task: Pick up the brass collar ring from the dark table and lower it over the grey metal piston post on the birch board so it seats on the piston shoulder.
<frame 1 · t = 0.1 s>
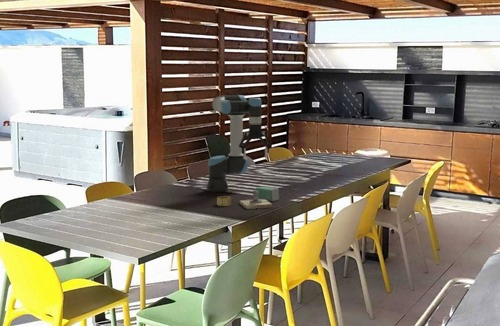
hand: (255, 158, 363), 28 cm above the table, fingers open, 13 cm apart
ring: (223, 204, 365), on the table
box: (267, 199, 381), on the table
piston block: (255, 205, 362), on the table
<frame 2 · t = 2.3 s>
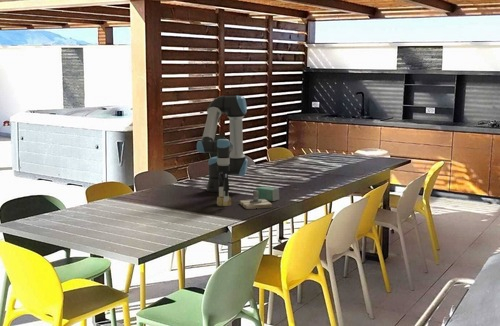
hand: (223, 199, 364), 3 cm above the table, fingers open, 13 cm apart
nothing on the table moved.
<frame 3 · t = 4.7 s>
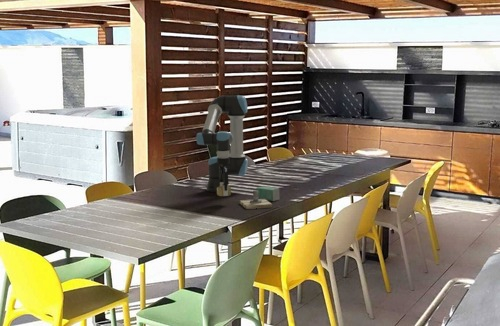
hand: (223, 194, 365), 6 cm above the table, fingers closed on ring, 8 cm apart
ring: (223, 194, 365), point 6 cm above the table, touching gripper
everything else where it was.
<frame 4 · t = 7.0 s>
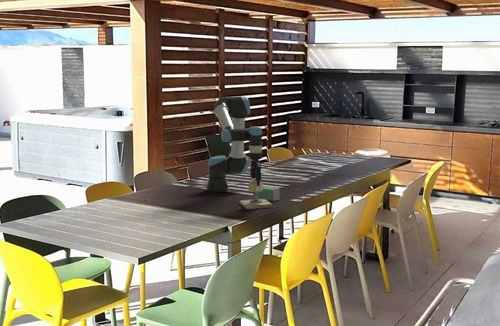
hand: (255, 189, 361), 10 cm above the table, fingers closed on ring, 8 cm apart
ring: (255, 190, 361), point 9 cm above the table, touching gripper
everything else where it was.
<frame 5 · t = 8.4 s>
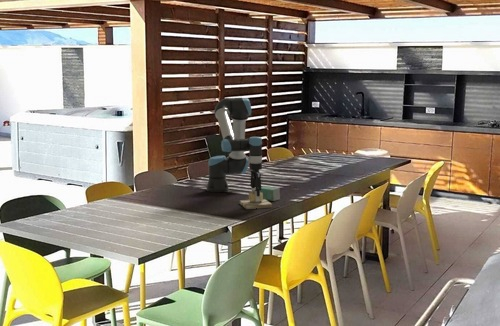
hand: (255, 199, 362), 4 cm above the table, fingers closed on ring, 8 cm apart
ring: (255, 200, 362), point 3 cm above the table, touching gripper
everything else where it was.
when the fingers open (3 cm above the table, at t = 9.3 s): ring stays where it is, resting on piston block.
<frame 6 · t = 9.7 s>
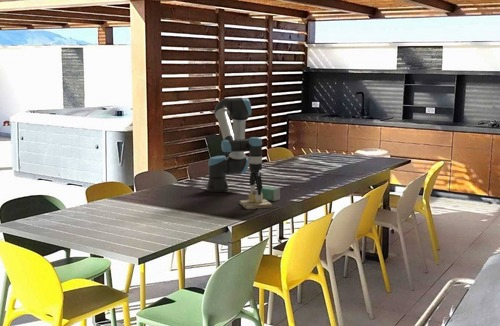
hand: (255, 197, 361), 5 cm above the table, fingers open, 13 cm apart
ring: (255, 200, 362), point 3 cm above the table, touching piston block
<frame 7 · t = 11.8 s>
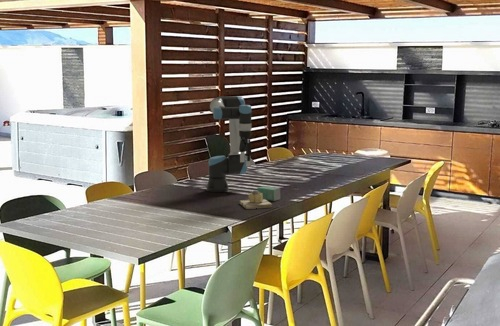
hand: (245, 164, 372), 23 cm above the table, fingers open, 13 cm apart
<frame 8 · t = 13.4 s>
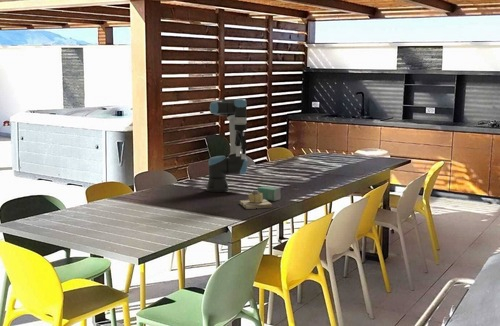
hand: (240, 157, 376), 27 cm above the table, fingers open, 13 cm apart
at the end: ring 0.0 cm off-centre on the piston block, point 2.8 cm above the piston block's base; the gripper is holding nothing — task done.
